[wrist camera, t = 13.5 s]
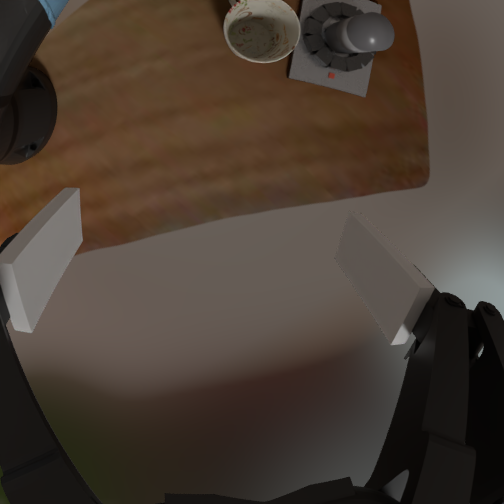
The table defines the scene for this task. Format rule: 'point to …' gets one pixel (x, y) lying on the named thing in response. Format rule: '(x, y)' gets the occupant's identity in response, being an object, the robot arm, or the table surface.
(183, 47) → the table surface
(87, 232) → the table surface
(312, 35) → the mount
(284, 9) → the mug
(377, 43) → the lens
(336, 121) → the table surface
